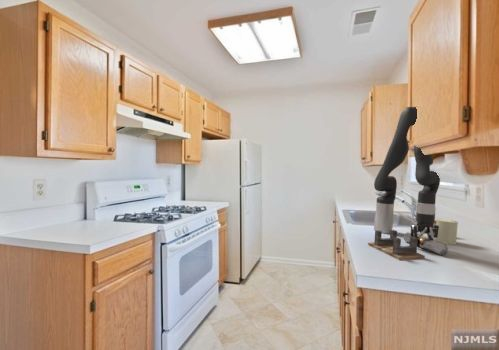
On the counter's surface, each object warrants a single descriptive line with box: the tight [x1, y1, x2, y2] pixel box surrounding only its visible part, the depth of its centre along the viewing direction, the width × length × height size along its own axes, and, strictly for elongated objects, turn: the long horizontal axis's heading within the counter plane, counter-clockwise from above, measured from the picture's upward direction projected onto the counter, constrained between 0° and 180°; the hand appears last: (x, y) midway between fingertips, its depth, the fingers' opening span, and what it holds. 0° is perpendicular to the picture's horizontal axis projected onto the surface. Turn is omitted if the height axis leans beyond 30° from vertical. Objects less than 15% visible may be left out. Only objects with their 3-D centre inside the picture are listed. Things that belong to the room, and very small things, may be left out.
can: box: [434, 218, 459, 245], centre depth 140 cm, size 9×9×12 cm
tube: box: [403, 232, 449, 256], centre depth 128 cm, size 20×5×5 cm, turn 12°
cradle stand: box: [367, 229, 426, 261], centre depth 122 cm, size 20×13×8 cm, turn 12°
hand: (423, 246), depth 128 cm, fingers open, 6 cm apart
